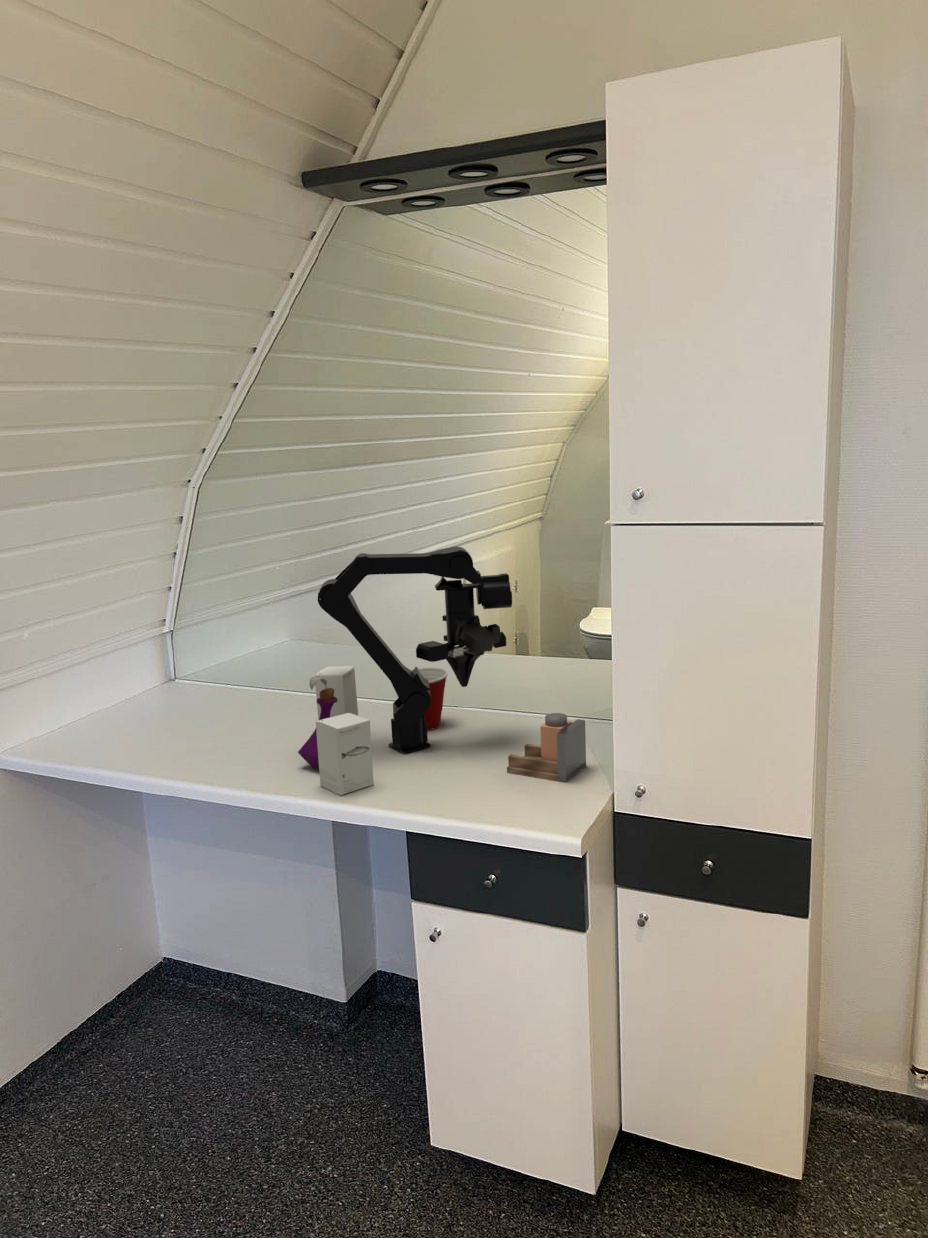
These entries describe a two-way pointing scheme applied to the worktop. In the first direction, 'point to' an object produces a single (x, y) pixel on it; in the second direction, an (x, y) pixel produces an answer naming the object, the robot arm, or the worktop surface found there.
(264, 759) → the worktop surface
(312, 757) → the perfume bottle
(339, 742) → the supplement box
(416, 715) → the robot arm
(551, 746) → the knob slider
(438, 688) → the plastic cup
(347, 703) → the skincare box
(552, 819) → the worktop surface
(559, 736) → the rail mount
